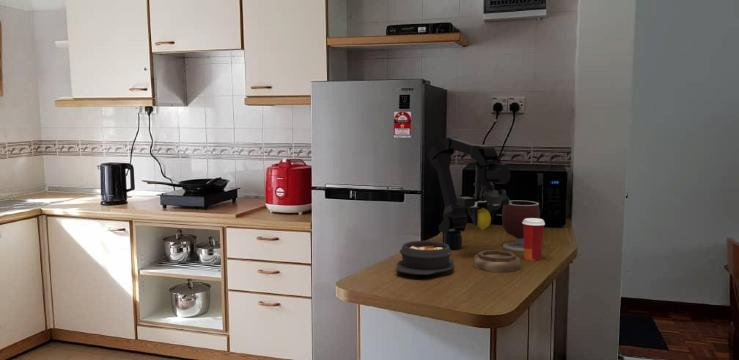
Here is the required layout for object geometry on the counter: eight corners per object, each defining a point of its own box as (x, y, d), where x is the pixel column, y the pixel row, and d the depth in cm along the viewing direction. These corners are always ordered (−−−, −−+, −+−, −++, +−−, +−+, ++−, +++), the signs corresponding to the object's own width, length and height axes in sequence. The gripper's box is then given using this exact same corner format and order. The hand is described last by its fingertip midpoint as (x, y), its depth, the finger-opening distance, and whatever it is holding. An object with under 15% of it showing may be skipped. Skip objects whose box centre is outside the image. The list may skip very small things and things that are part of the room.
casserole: (437, 283, 190) (438, 256, 189) (382, 275, 199) (382, 249, 198) (465, 265, 212) (466, 241, 211) (415, 259, 221) (415, 235, 220)
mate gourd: (535, 243, 247) (537, 193, 245) (541, 251, 234) (543, 198, 231) (495, 242, 249) (496, 192, 247) (498, 250, 235) (500, 197, 233)
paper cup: (544, 257, 225) (546, 218, 223) (543, 262, 217) (544, 222, 216) (522, 255, 227) (523, 217, 225) (519, 260, 220) (521, 220, 218)
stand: (465, 266, 210) (465, 254, 210) (488, 259, 222) (488, 247, 221) (505, 274, 201) (506, 261, 200) (527, 266, 212) (528, 253, 212)
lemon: (472, 228, 226) (473, 206, 226) (488, 228, 227) (488, 206, 226) (476, 231, 221) (477, 209, 220) (492, 231, 221) (493, 208, 221)
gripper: (474, 184, 211) (473, 231, 213) (519, 182, 219) (518, 227, 220) (456, 181, 221) (455, 225, 223) (500, 179, 229) (499, 221, 230)
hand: (482, 225), depth 224 cm, fingers closed on lemon, 5 cm apart
